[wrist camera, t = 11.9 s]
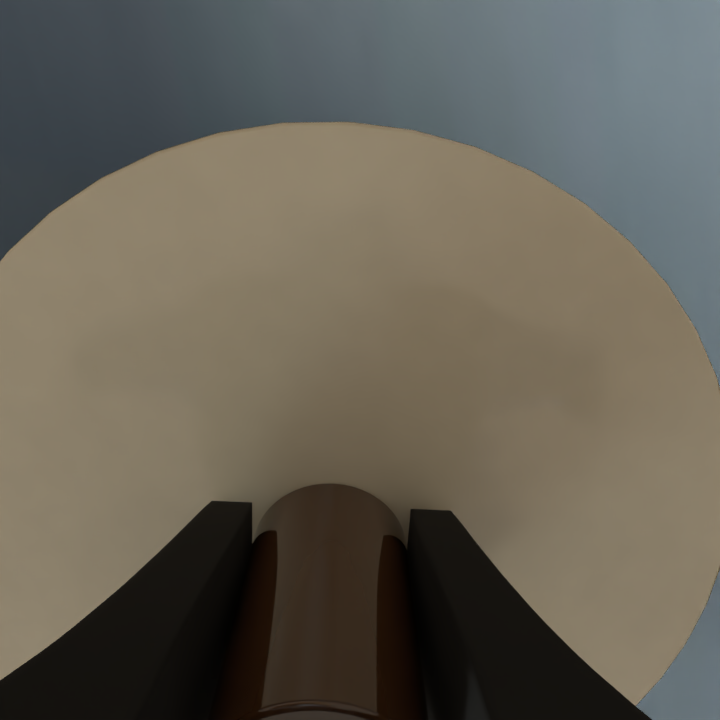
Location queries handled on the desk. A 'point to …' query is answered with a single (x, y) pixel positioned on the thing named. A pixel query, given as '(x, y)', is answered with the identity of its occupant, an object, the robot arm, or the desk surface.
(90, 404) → the lid
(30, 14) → the desk surface
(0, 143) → the desk surface
